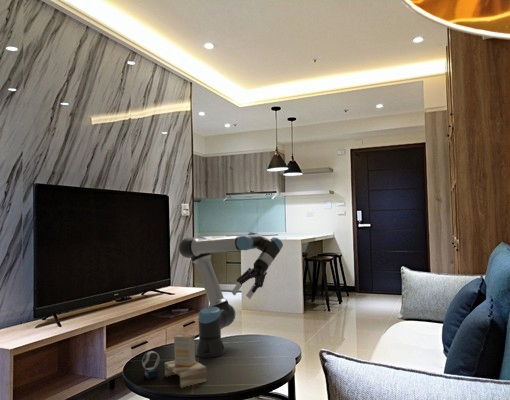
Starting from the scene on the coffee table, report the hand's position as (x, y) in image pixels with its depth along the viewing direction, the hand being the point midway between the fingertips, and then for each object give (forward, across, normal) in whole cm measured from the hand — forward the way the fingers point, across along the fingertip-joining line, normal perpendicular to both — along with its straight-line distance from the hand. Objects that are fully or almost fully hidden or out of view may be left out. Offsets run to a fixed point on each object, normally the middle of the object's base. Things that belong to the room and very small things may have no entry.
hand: (240, 295), depth 201 cm
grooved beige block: (+46, -1, -1) cm, 46 cm away
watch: (+53, +12, +7) cm, 55 cm away
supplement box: (+41, -1, +3) cm, 41 cm away
